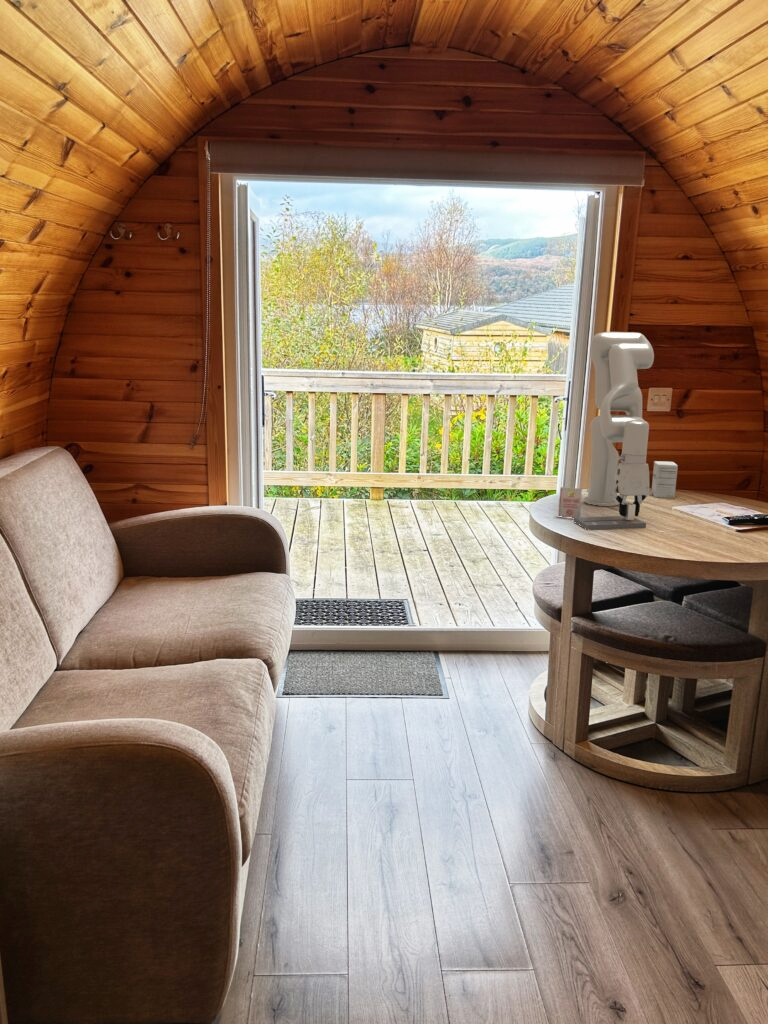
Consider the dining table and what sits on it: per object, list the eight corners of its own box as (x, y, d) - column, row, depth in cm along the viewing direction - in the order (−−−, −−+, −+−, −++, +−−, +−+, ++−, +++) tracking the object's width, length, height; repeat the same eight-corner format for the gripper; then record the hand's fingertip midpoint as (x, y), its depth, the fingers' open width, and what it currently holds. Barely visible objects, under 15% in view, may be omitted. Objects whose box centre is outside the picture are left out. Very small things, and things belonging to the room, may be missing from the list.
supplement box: (650, 493, 306) (653, 460, 303) (670, 494, 305) (674, 461, 302) (654, 497, 299) (657, 464, 296) (675, 498, 298) (678, 464, 295)
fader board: (573, 522, 260) (574, 517, 260) (630, 520, 264) (630, 515, 264) (587, 530, 251) (587, 525, 251) (645, 527, 255) (646, 522, 255)
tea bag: (559, 515, 270) (561, 486, 267) (579, 517, 268) (581, 487, 265) (558, 517, 266) (560, 488, 264) (579, 519, 264) (581, 489, 262)
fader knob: (622, 517, 260) (623, 502, 259) (629, 517, 260) (630, 502, 259) (627, 520, 257) (628, 504, 256) (634, 519, 257) (635, 504, 256)
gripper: (615, 461, 249) (610, 519, 253) (663, 460, 252) (658, 517, 256) (603, 457, 256) (599, 513, 260) (651, 456, 259) (646, 511, 264)
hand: (628, 514), depth 258 cm, fingers open, 3 cm apart
